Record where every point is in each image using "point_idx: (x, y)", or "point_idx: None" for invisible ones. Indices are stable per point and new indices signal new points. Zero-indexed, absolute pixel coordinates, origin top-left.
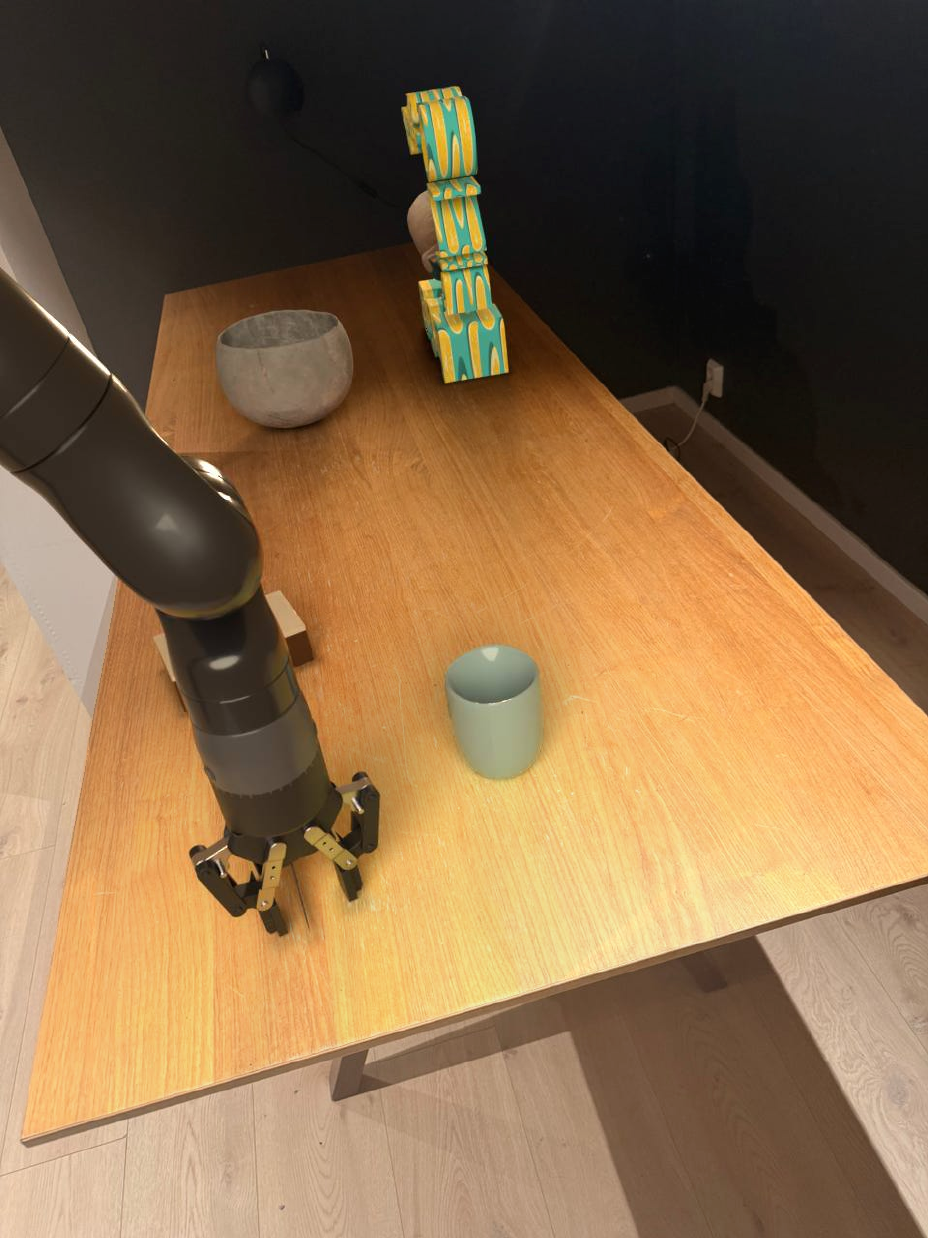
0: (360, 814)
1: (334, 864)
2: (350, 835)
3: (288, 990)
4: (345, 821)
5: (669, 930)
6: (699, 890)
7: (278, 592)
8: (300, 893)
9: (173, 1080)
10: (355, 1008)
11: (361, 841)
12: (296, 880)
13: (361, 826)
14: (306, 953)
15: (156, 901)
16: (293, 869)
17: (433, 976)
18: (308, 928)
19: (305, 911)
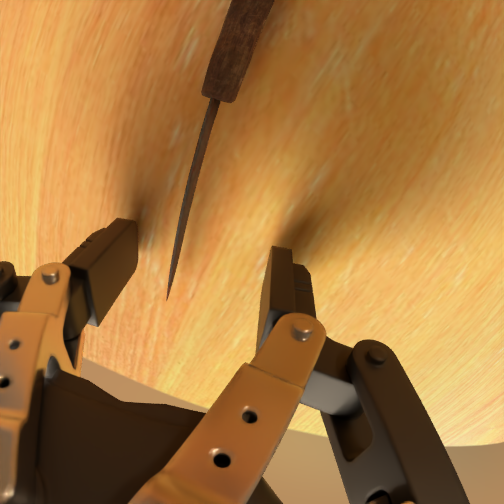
0: (361, 497)
1: (268, 293)
2: (332, 385)
3: (117, 322)
4: (394, 84)
5: None
6: (473, 427)
7: None
8: (184, 221)
9: None
10: (184, 383)
11: (329, 425)
12: (185, 202)
13: (346, 468)
14: (156, 298)
15: (4, 48)
16: (193, 169)
17: None
18: (167, 294)
19: (180, 248)
